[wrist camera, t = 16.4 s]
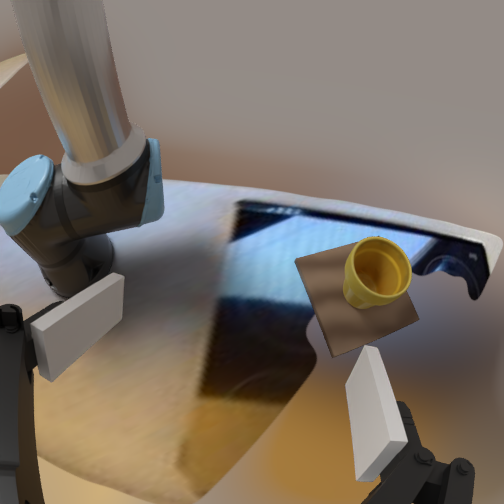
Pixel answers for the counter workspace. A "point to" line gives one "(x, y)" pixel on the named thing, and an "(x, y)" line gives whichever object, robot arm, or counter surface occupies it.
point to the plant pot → (376, 273)
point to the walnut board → (347, 304)
